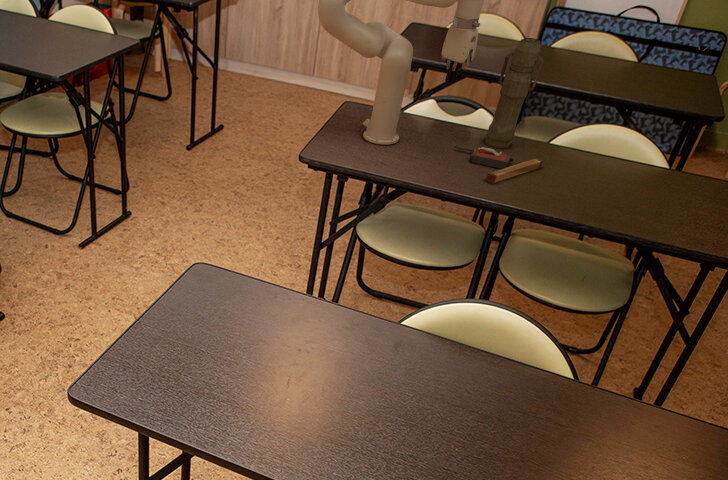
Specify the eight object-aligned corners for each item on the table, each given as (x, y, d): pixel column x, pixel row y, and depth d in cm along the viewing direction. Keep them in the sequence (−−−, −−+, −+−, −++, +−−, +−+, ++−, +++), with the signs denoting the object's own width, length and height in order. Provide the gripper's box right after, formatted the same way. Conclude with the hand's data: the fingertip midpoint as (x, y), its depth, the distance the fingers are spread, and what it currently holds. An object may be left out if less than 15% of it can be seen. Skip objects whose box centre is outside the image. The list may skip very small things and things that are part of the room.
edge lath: (485, 180, 222) (487, 173, 221) (533, 165, 232) (536, 157, 231) (492, 183, 221) (494, 176, 219) (540, 167, 231) (543, 160, 229)
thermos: (481, 135, 251) (513, 33, 228) (515, 142, 247) (551, 39, 224) (478, 144, 245) (510, 40, 222) (512, 151, 241) (548, 45, 218)
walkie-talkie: (513, 161, 234) (453, 148, 241) (517, 149, 231) (457, 136, 238) (508, 171, 228) (448, 157, 235) (513, 158, 225) (451, 145, 232)
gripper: (492, 27, 214) (475, 87, 226) (455, 15, 223) (440, 73, 235) (475, 30, 211) (459, 90, 222) (439, 18, 220) (425, 77, 232)
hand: (449, 81), depth 229 cm, fingers closed
